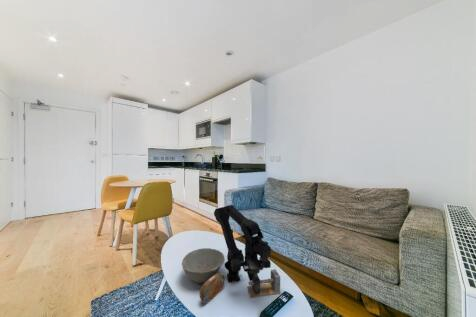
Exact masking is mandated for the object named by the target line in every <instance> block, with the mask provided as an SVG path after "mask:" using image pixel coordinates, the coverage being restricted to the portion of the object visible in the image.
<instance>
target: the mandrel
mask: <svg viewBox="0 0 476 317" xmlns="http://www.w3.org/2000/svg"><path fill="white" fill-rule="evenodd" d="M252 285H254V281H250V280H249V281H248V285H247V286H246V289H247V291H248V295H249V298H250V299H252V298H253V299H254V298H261V297H268V296H274V295H280V294H281V275H280V274H279V273H278V271H277V269H270V278H267V279H260V294H255V292H254V290H253V287H252Z"/></svg>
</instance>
